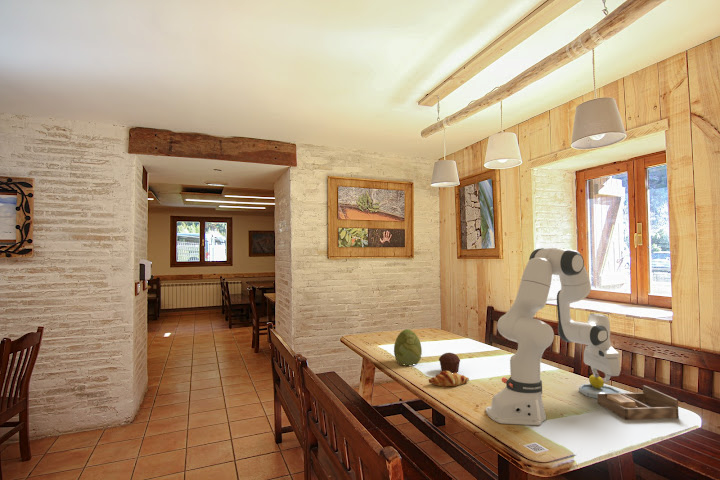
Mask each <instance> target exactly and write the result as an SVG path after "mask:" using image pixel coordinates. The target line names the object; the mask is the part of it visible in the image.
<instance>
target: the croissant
mask: <svg viewBox="0 0 720 480" xmlns="http://www.w3.org/2000/svg"><path fill="white" fill-rule="evenodd" d="M469 381H470V377H467V376H466V375H464V374H459V372H458V373H453V374H452V373H451V372H450V371H440V372H439V373H438V374H436V375H435V376H433V377H431V378H428V383H429V384H431V385H433V384H434V385H435V386H436V385H438V386H437V387H440V386H441V387H443V386H453V387H458V386H461V385H464V384H467V383H468V382H469ZM457 385H458V386H457Z"/></svg>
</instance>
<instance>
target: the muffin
mask: <svg viewBox="0 0 720 480" xmlns="http://www.w3.org/2000/svg"><path fill="white" fill-rule="evenodd" d="M438 361H439V364H440V370H442V371H450V372H451V373H457V372H458V373H459V370H460V362H461V359H460V358H459V356H458V355H457V354H456V353H453V352H445V353H443V354H441V355H440V357H438ZM442 371H441V372H442Z"/></svg>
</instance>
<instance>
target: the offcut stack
mask: <svg viewBox="0 0 720 480" xmlns="http://www.w3.org/2000/svg"><path fill="white" fill-rule="evenodd" d="M607 398H608V399H610V400H612V401H614V402H616V403H618V404H619V405H621V406H623V407H625V408H638V406H636V404H635V401H633V400H631V399H629V398H627V397H625V396H623V395H621V394H614V395H607Z"/></svg>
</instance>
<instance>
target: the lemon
mask: <svg viewBox="0 0 720 480" xmlns="http://www.w3.org/2000/svg"><path fill="white" fill-rule="evenodd" d="M588 381H589V384H591V385H592V386H593V387H595V388H602V387H603V385H604V383H605V382H604V379H602V377H601V376H600V375H599V378H596V377H594V376H593V374H591V375H590V376H589V378H588ZM604 386H605V385H604Z"/></svg>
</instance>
